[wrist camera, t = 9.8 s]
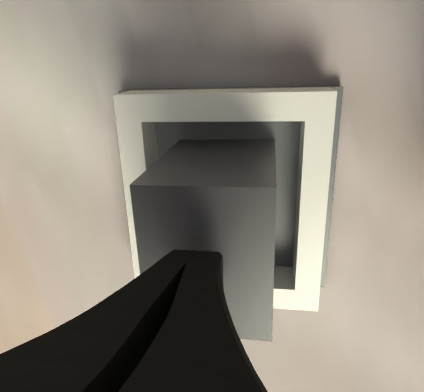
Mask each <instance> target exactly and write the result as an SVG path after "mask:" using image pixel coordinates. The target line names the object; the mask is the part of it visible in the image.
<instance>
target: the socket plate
mask: <svg viewBox="0 0 424 392" xmlns="http://www.w3.org/2000/svg"><path fill="white" fill-rule="evenodd" d="M342 94H343V87H342V86H310V87H256V88H201V89H146V90H121V91H119V94H114V95H113V101H114V109H115V118H116V126H117V134H118V143H119V151H120V159H121V168H122V176H123V184H124V193H125V201H126V209H127V218H128V226H129V234H130V243H131V251H132V259H133V268H134V276H135V278H136V277H137V276H139V275H140V269H139V261H138V253H137V244H136V236H135V227H134V219H133V211H132V202H131V194H130V184H131V183H132V182H133V181H134V180H136V179H137V178H138V177H139V176H140V175H141V174H142V173H143V172H144V171H146V170H147V169H148V168H149V167H150V166H151V165H152V164H153V163H155V162H156V161H157V160H158V159H159V158H160V157H161V156H162V155H163V154H165V153H166V152H167V151H168V150H169V149H170V148H171V147H172V146H173V145H175V144H176V143H177V142H178V141H179V140H224V139H275V156H276V187H277V189H276V223H275V257H274V291H273V308H277V309H291V310H305V311H318V305H319V293H320V287H325V277H326V266H327V255H328V245H329V234H330V223H331V212H332V202H333V191H334V180H335V169H336V159H337V148H338V137H339V127H340V116H341V105H342Z"/></svg>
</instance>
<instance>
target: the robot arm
mask: <svg viewBox="0 0 424 392" xmlns="http://www.w3.org/2000/svg"><path fill="white" fill-rule="evenodd" d="M0 392H267V390H266V388H265V387H264V385H263V383H262V382H261V380H260V378H259V376H258V375H257V373H256V371H255V370H254V368H253V366H252V364H251V362H250V360H249V358H248V356H247V354H246V352H245V350H244V347H243V345H242V343H241V341H240V338H239V336H238V334H237V331H236V329H235V326H234V323H233V321H232V318H231V315H230V312H229V309H228V306H227V302H226V298H225V294H224V287H223V256H222V255H221V254H220V253H219V252H214V251H194V250H172V251H171V252H169V253H168V254H167V255H165V256H164V257H163V258H161V259H160V260H159V261H157V262H156V263H155V264H153V265H152V266H151V267H150V268H148V269H147V270H146V271H144V272H143V273H141V274H140V275H139V276H137V277H136V278H135V279H133V280H132V281H131V282H129V283H128V284H127V285H125V286H124V287H122V288H121V289H119V290H118V291H116V292H115V293H113V294H112V295H110V296H109V297H107V298H106V299H104V300H103V301H101V302H100V303H98V304H97V305H95V306H94V307H92V308H90V309H89V310H87V311H85V312H84V313H82V314H80V315H79V316H77V317H75V318H73V319H71V320H70V321H68V322H66V323H64V324H62V325H60V326H59V327H57V328H55V329H53V330H51V331H49V332H47V333H45V334H43V335H41V336H39V337H36V338H34V339H32V340H30V341H28V342H26V343H23V344H21V345H19V346H17V347H15V348H13V349H10V350H8V351H6V352H4V353H2V354H0Z"/></svg>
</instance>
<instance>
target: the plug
mask: <svg viewBox="0 0 424 392" xmlns="http://www.w3.org/2000/svg"><path fill="white" fill-rule="evenodd" d="M276 189H277V187H276V156H275V139H224V140H179V141H178V142H177V143H176V144H175V145H173V146H172V147H171V148H170V149H169V150H168V151H167V152H166V153H165V154H163V155H162V156H161V157H160V158H159V159H158V160H157V161H156V162H155V163H153V164H152V165H151V166H150V167H149V168H148V169H147V170H146V171H144V172H143V173H142V174H141V175H140V176H139V177H138V178H137V179H136V180H134V181H133V182H132V183H131V184H130V194H131V202H132V211H133V219H134V227H135V236H136V244H137V253H138V261H139V269H140V274H141V273H143V272H144V271H146V270H147V269H148V268H150V267H151V266H152V265H153V264H155V263H156V262H157V261H159V260H160V259H161V258H163V257H164V256H165V255H167V254H168V253H169V252H171V251H172V250H194V251H214V252H219V253H220V254H221V255H222V256H223V287H224V294H225V298H226V302H227V306H228V309H229V312H230V315H231V318H232V321H233V323H234V326H235V329H236V331H237V334H238V336H239V338H240V339H249V340H261V341H272V325H273V291H274V257H275V223H276Z"/></svg>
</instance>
